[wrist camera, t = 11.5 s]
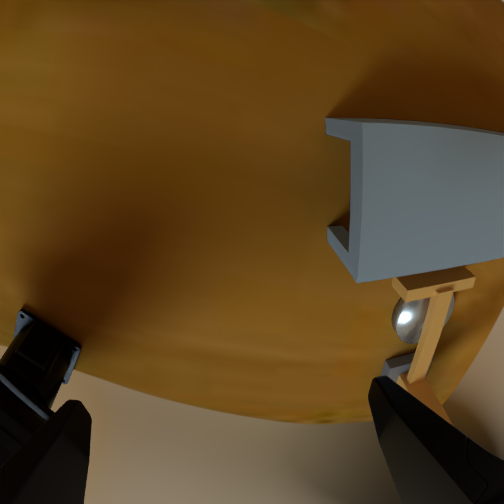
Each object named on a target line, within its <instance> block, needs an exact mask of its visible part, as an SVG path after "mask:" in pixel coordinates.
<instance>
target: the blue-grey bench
mask: <svg viewBox="0 0 504 504" xmlns="http://www.w3.org/2000/svg"><path fill="white" fill-rule="evenodd" d="M325 124H326V134H327V135H331V136H334V137H338V138H342V139H345V140H349V141H350V149H351V199H350V232H349V233H348V232H347V231H346V229H345V228H344V227H343V226H342V225H341V226H331V227H327V241H328V242H329V244H330V245H331V247H332V248H333V249H334V251H335V252H336V254H337V255H338V257H339V258H340V259H341V261H342V262H343V264H344V265H345V267H346V268H347V269H348V271H349V272H350V274H351V275H352V277H353V278H354V280H355V281H356V283H361V282H368V281H375V280H381V279H387V278H394V277H400V276H406V275H412V274H418V273H424V272H430V271H435V270H441V269H447V268H452V267H458V266H463V265H468V264H473V263H478V262H484V261H489V260H494V259H498V258H503V257H504V133H502V132H497V131H491V130H485V129H479V128H472V127H465V126H458V125H450V124H441V123H431V122H421V121H408V120H393V119H370V118H325Z"/></svg>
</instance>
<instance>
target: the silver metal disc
mask: <svg viewBox="0 0 504 504" xmlns="http://www.w3.org/2000/svg"><path fill="white" fill-rule="evenodd" d="M430 298H431V297H429V298H424V299H419V300H415V301H410V302H405V301H404V300H403V299H402V298H400V299H399V301H398V302H397V304H396V306H395V308H394V310H393V314H392V326H393V328H394V330H395V331H396V333H397V335H398V336H399V338H400V339H401V340H402V341H404V342H406V343H411V344H413V343H418V342H419V339H420V335H421V332H422V329H423V325H424V321H425V318H426V314H427V310H428V306H429V302H430ZM453 308H454V295H452V299H451V302H450V306H449V309H448V312H447V316H446V319H445V322H444V325H445V324H446V323H447V321H448V320H449V318H450V316H451V314H452V311H453ZM444 325H443V326H444Z"/></svg>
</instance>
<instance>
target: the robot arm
mask: <svg viewBox="0 0 504 504" xmlns="http://www.w3.org/2000/svg"><path fill="white" fill-rule="evenodd" d="M80 350H81V346H80V344H78V343H77V342H75V341H74V340H72V339H70V338H68V337H67V336H65V335H63V334H62V333H60V332H58V331H57V330H55V329H54V328H52V327H50V326H49V325H47V324H46V323H44V322H43V321H41V320H39V319H38V318H36V317H35V316H33V315H32V314H30V313H29V312H27V311H26V310H24V309H21V310H20V311H19V312H18V316H17V321H16V328H15V334H14V340H13V341H12V343H11V344H10V346H9V347H8V349H7V350H6V352H5V353H4V355H3V356H2V358H1V359H0V504H84V496H85V488H86V480H87V473H88V465H89V456H90V439H91V424H92V419H91V416H90V414H89V412H88V411H87V410H86V408H85V407H84V405H83V404H82V402H81V401H79V400H68V401H66V402H65V404H63V405H62V407H60V408H59V409H58V410H57V411H56V412H53V411H52V410H51V407H52V405H53V402H54V400H55V398H56V395H57V393H58V391H59V388H60V386H61V384H62V383H63V384H67V383H68V381H69V378H70V376H71V373H72V371H73V368H74V365H75V363H76V360H77V358H78V355H79V353H80ZM368 401H369V405H370V409H371V412H372V416H373V420H374V424H375V429H376V433H377V437H378V440H379V444H380V447H381V449H382V452H383V455H384V457H385V460H386V463H387V465H388V468H389V471H390V474H391V476H392V479H393V482H394V485H395V488H396V490H397V493H398V496H399V499H400V502H401V504H504V460H502V459H501V458H499V457H497V456H495V455H494V454H492V453H490V452H489V451H487V450H486V449H484V448H483V447H481V446H480V445H478V444H477V443H476V442H474V441H473V440H472V439H470V438H469V437H467V436H466V435H465V434H463V433H462V432H460V431H459V430H458V429H457V428H455V427H454V426H453V425H451V424H450V423H449V422H447V421H446V420H445V419H443V418H442V417H441V416H439V415H438V414H437V413H435V412H434V411H433V410H431V409H430V408H429V407H427V406H426V405H425V404H423V403H422V402H421V401H419V400H418V399H417V398H416V397H414V396H413V395H412V394H410V393H409V392H408V391H406V390H405V389H404V388H402V387H401V386H400V385H398V384H397V383H396V382H395V381H393V380H392V379H391V378H389V377H388V376H386V375H383V376H379V377H375V378H374V379H373V380H372V383H371V386H370V390H369V394H368Z"/></svg>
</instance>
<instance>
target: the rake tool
mask: <svg viewBox="0 0 504 504" xmlns="http://www.w3.org/2000/svg"><path fill="white" fill-rule="evenodd" d="M475 278H476V276H474V275H473V274H472V273H471V272H470V271H469V270H467V269H466V268H465V267H464V266H458V267H452V268H447V269H441V270H435V271H430V272H424V273H418V274H412V275H406V276H400V277H394V278H393V279H392V287H393V288H394V289H395V290H396V292H397V293H398V294H399V295H400V296H401V298H402V299H403V300H404V301H405V302H410V301H415V300H419V299H424V298H429V297H431V298H430V302H429V306H428V310H427V314H426V318H425V321H424V325H423V329H422V332H421V335H420V339H419V342H418V345H417V348H416V352H415V353H412V354H408V355H404V356H400V357H396V358H392V359H388V360H385V364H384V367H383V371H382V374H381V376H383V375H386V376H388V377H389V378H391V379H392V380H393V381H395V382H396V383H397V384H398V385H400V386H401V387H402V388H404V389H405V390H406V391H408V392H409V393H410V394H412V395H413V396H414V397H416V398H417V399H418V400H419V401H421V402H422V403H423V404H425V405H426V406H427V407H429V408H430V409H431V410H433V411H434V412H435V413H437V414H438V415H439V416H441V417H442V418H443V419H445V420H446V421H447V422H449V423H450V424H451V425H452V423H451V421H450V420H449V418H448V416H447V414H446V412H445V411H444V409H443V407H442V405H441V404H440V402H439V400H438V398H437V397H436V395H435V393H434V392H433V390H432V388H431V387H430V385H429V383H428V382H427V380H426V378H425V377H426V375H427V372H428V370H429V367H430V365H431V362H432V359H433V357H434V356H433V355H434V352H435V349H436V346H437V343H438V340H439V338H440V335H441V332H442V329H443V325H444V322H445V319H446V316H447V312H448V309H449V306H450V302H451V299H452V295H453V292H456V291H460V290H464V289H468V288H472V287H473V285H474V282H475Z"/></svg>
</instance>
